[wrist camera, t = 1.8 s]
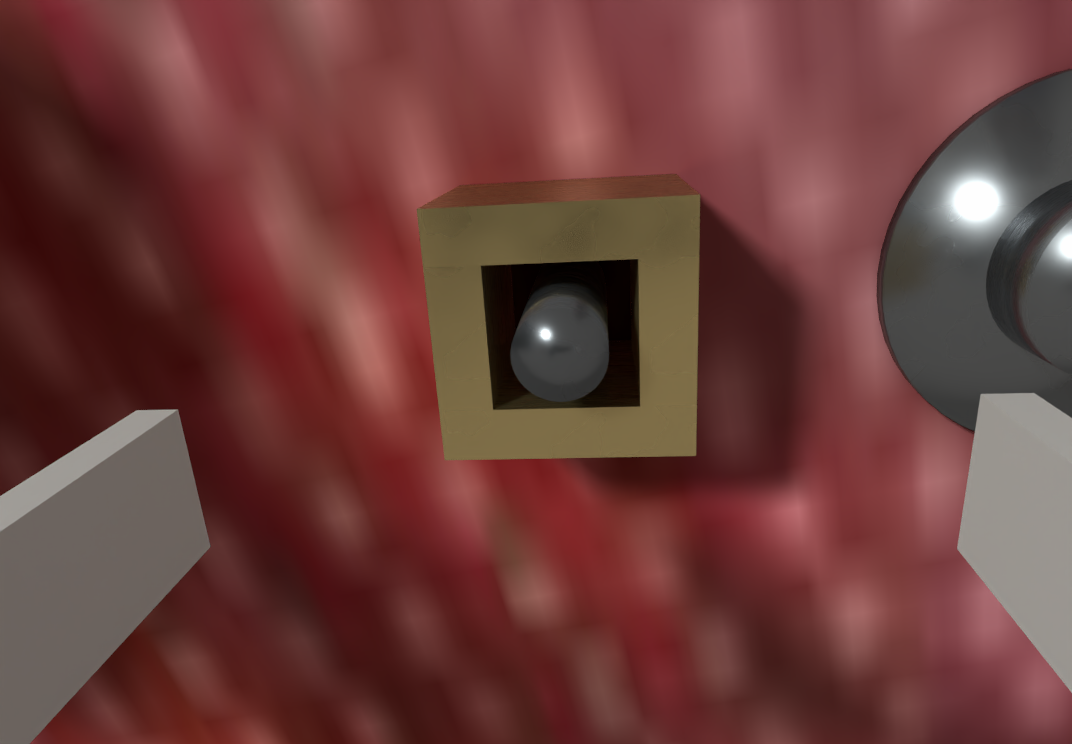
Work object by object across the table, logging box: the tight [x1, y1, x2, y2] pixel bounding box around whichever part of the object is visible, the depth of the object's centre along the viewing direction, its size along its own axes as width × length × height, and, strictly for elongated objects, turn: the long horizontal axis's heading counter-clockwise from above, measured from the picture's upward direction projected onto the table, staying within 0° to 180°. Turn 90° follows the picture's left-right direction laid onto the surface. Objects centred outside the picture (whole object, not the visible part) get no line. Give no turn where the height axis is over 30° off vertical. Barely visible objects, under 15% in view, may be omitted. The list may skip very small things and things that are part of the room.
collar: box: [417, 174, 700, 460], centre depth 22 cm, size 7×7×6 cm
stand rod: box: [510, 261, 609, 402], centre depth 21 cm, size 2×2×8 cm
